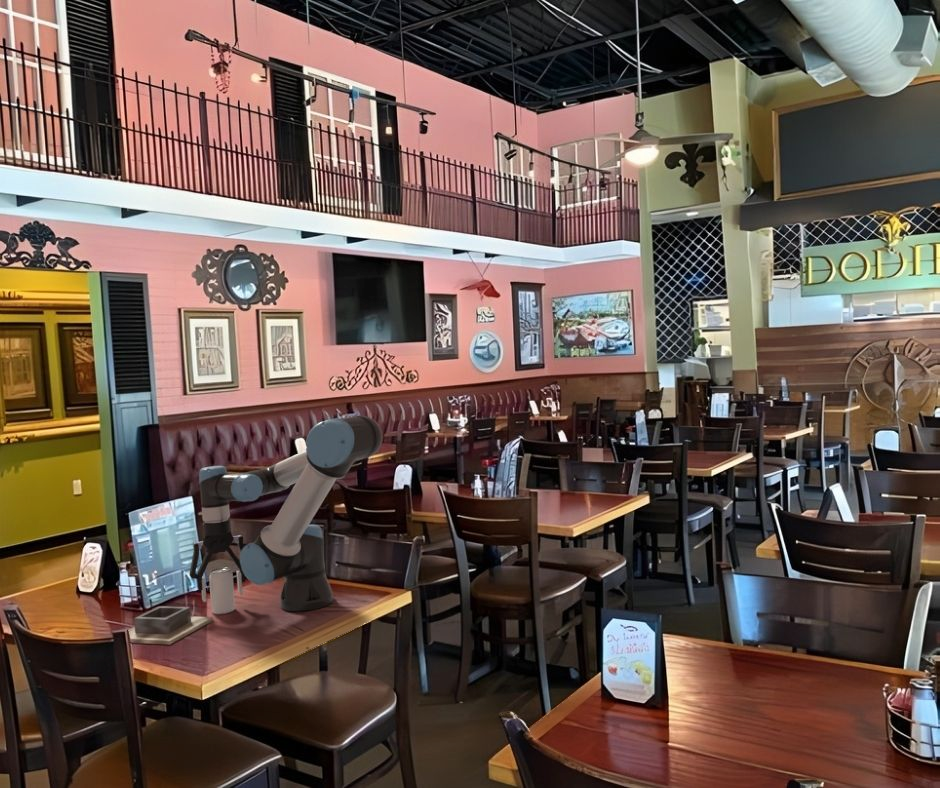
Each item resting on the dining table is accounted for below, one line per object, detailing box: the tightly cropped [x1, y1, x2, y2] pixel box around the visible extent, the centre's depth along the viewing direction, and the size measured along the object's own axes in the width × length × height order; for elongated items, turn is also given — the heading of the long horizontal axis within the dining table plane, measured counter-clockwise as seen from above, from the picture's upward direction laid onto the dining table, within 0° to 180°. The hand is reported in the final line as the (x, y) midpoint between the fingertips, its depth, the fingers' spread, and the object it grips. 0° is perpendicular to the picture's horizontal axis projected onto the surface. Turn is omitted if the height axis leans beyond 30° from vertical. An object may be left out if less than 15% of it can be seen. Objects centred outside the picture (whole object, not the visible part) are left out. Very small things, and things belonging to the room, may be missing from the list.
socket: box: [127, 605, 214, 645], centre depth 207 cm, size 18×18×5 cm
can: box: [208, 567, 236, 616], centre depth 222 cm, size 6×6×12 cm
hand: (222, 597), depth 222 cm, fingers open, 9 cm apart
